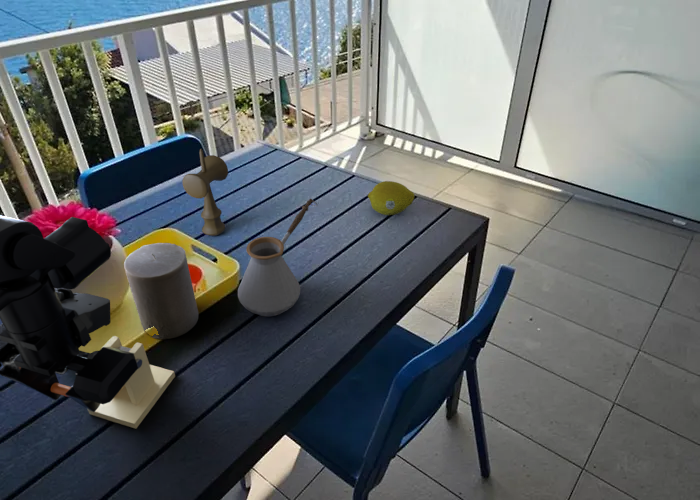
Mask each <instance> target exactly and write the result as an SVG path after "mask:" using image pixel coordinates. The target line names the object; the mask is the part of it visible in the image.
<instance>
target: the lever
mask: <svg viewBox="0 0 700 500" xmlns="http://www.w3.org/2000/svg"><path fill="white" fill-rule="evenodd" d="M131 348H132V347H127V346H123V345H122V346H120V347H119V348H117V349H119V350H123V351H127V352H129V351H130V350H131ZM72 386H73V385H71V386H69V385H65V384H62V383H60V382H59V383H54V384H53V385H52V386H51V392H54V393H57V394H60V395H61V396H64V397H66V398H69V397H68V396H67V395H65V394H66V392H67V391H68V390H69V389H70V388H71V387H72Z"/></svg>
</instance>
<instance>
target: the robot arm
mask: <svg viewBox="0 0 700 500" xmlns="http://www.w3.org/2000/svg"><path fill="white" fill-rule="evenodd" d="M111 257H112V249H111V247H110V244H109V243H108V242H106V240H105V238H103V236H102V235H101V234H100V233H98V231H96V230H94V229H93V228H91V227H90V225H89V223H88V220H87V219H84V218H79V217H74V216H71V217H70V218H68V219H67V220H66V221H64V223H62V225H61V226H59V227H58V228H57V229H55V230H53V232H51V233H50V234H49V235H47V236H46V237H44V235H43V232H42V231H41V230H40V227H38V226H37V225H36V224H34V223H33V222H31V221H26V220H23V219H18V218H13V217H10V216H6V215H1V214H0V321H1V324H0V376H2V377H4V378H6V379H9V380H11V381H13V382H16V383H17V384H20V385H22V386H24V387H26V388H29V389H30V390H33V391H34V392H37V393H39V394H41V395H43V396H45V397H47V398H49V399H52V400H55V401H57V400H59V398H60V397H61V396H62V395H60V394H57V393H54V392H51V386H52V385H53V384H54V383H59V384H60V381H59V379H58V377H57V374H58V375H61V376H64V375H65V374H66V373H67V372H68V371H69V370H70V371H72V372H75V379H74V382H73V385H71V386H72V387H71V386H70V387H71V388H70V389H69V390H68V391H67V392H66V394H65V395H67V396H68V397H67V398H70V399H71V400H73V401H75V402H76V403H78V404H79V405H80V406H82V407H83V408H85V409H89V410H90V411H92V412H95V411H96V410H97V408H98V407H99V406H100V404H106V403H109V402H111V401H112V399H113V398H114V397H115V396H116V394H117V393H118V392H119V391H120V390H121V388H122V387H123V386H124V385H125V384H126V382H127V381H128V380H129V379H130V378H131V376H132V375H133V374H134V373H135V371H136V370H137V369H138V365H137V362H136V359H135V356H134V353H130V352H127V351H123V350H119V349H116V348H112V347H103V346H102V347H101V348H100V349H99V350H94V351H92V352H87V351H84V350H80V348H81V347H86V346H87V345H88V344H89V343H90V342H91V341H92V338H91V335H90V334H92V333H93V332H95V331H97V330H99V329H101V328H103V327H107V326H109V325H110V324H111V300H110V298H107V297H104V296H98V295H95V294H91V293H85V292H84V293H83V292H81V293H80V292H77V291H75V292H73V290H75V289H76V288H78V287H79V286H80V285H81V284H82V283H83V282H85V281H86V280H87V279H88V278H89V277H90V276H91V275H93V274H94V273H95V272H97V270H99V268H101V267H102V266H103V265H105V264H106V263H107V262H108V261H109V260H110V259H111Z"/></svg>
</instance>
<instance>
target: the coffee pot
mask: <svg viewBox="0 0 700 500" xmlns="http://www.w3.org/2000/svg"><path fill="white" fill-rule="evenodd" d="M312 202H313V203H314V204H315V205H313V204H312ZM310 206H311V207H314V208H315V207H318V203H317V202H316V201H315V200H313V199H312V198H309V199H308V198H307V199H306V204H305V205H302V207H301V208H302V209H301V210H300V211H299V212H298V213H297V214H296V216H295V217H294V219H293V220H292V222H291V224H290V225H289V227H288V229H287V231H286V233H285V234H284V235H283V237H282V239H279V238H276V237H274V236H261V237H257V238H254V239H253V240H251V241H250V242H249V243H248V244H247V245H246V250H245V251H246V253H247V254H248V256H249V257H250V259H249V261H248V264H247V265H246V269H245V271H244V274H243V277H242V278H241V282H240V284H239V286H238V288H237V299H238V301H239V303H240V304H241V306H243V308H244V309H246V311H249V312H250V313H251V314H254V315H255V314H256V315H259V316H261V317H274V316H279V315H281V314H282V313H283V314H284V312H286V311H288V310H290V309H291V308H292V307H293V306H295V304H296V303H297V301H298V300H299V298H300V294H301V285H300V282H298V279H297V278H296V276H295V275H294V273H293V272H292V269H290V266H289V265H288V264H287V262H286V260H285V259H284V257H283V253H284V249H285V246H284V245H285V244H286V242H287V241H288V239H289V238H290V236H291V235H292V233H293V232H294V231H295V230H296V228H297V227H298V226H299V224H300V223H301V221H302V220H303V219H304V216H305V214H306V212H308V211H309V207H310Z"/></svg>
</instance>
